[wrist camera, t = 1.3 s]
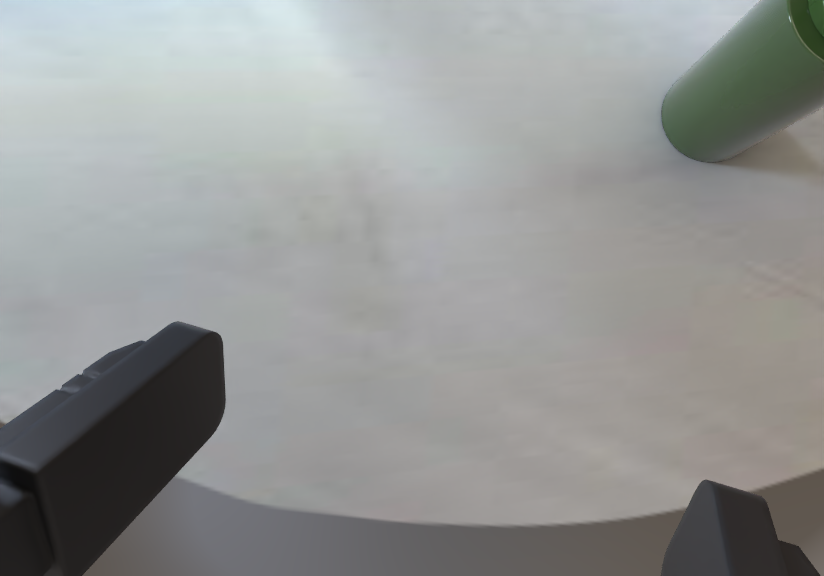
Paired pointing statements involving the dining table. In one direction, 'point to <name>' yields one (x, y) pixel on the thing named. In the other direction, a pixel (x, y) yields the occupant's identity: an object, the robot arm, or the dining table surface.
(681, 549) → the robot arm
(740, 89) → the oil bottle
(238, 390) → the dining table surface
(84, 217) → the dining table surface
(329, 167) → the dining table surface
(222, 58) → the dining table surface
